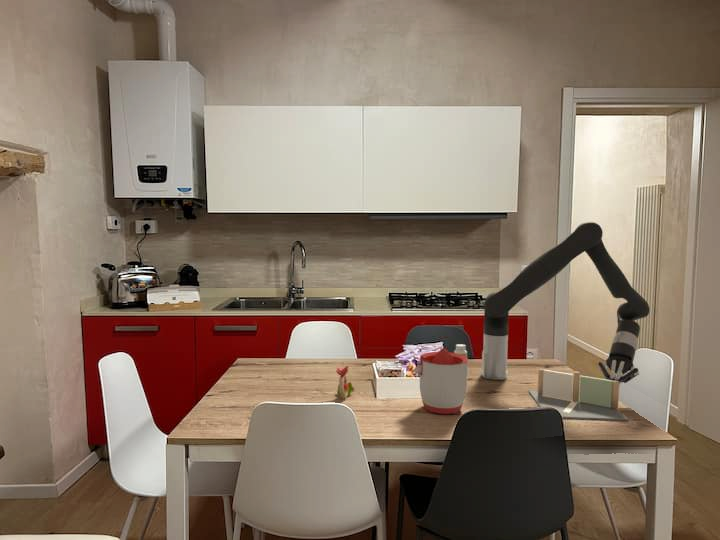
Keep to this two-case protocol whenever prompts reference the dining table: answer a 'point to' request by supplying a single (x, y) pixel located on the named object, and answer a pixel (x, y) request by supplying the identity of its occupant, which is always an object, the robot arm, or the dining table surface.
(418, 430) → the dining table surface
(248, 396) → the dining table surface
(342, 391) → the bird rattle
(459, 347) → the supplement bottle
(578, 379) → the panel
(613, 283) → the robot arm
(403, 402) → the dining table surface
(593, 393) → the fence hinged section
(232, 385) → the dining table surface
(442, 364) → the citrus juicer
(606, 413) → the board
